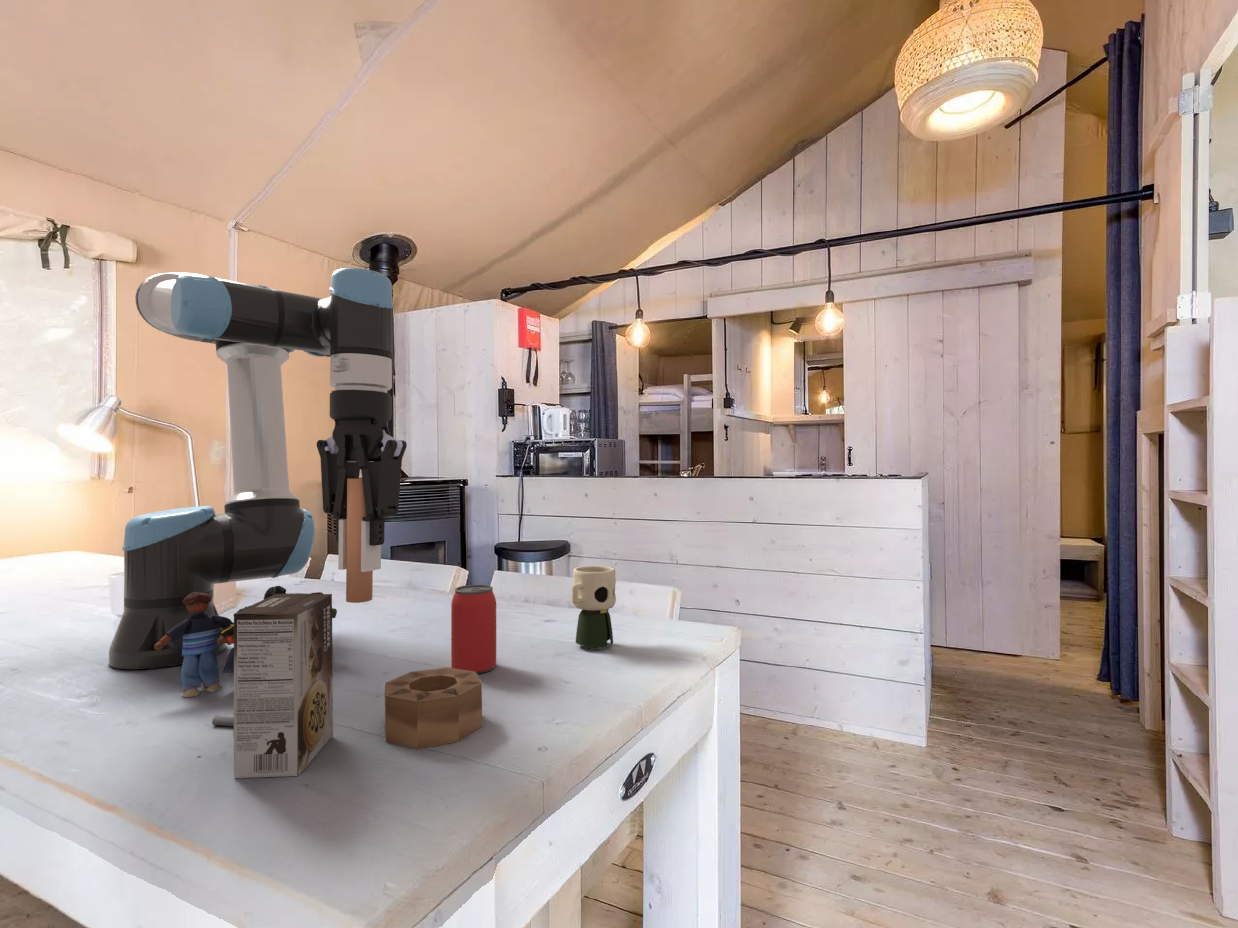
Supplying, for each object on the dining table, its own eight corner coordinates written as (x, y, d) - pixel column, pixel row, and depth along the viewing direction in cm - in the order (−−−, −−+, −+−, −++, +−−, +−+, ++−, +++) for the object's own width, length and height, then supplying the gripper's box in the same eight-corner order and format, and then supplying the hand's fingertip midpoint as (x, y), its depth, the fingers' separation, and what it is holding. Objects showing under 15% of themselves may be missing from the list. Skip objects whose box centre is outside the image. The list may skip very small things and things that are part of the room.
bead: (364, 736, 68) (364, 691, 69) (427, 703, 78) (427, 664, 78) (440, 753, 65) (440, 705, 65) (496, 716, 74) (496, 674, 74)
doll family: (195, 711, 76) (195, 603, 76) (147, 701, 79) (147, 598, 79) (341, 657, 98) (341, 573, 98) (298, 651, 101) (298, 569, 101)
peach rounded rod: (340, 601, 80) (341, 478, 80) (359, 596, 83) (360, 478, 83) (359, 603, 79) (360, 479, 79) (377, 598, 82) (378, 478, 82)
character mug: (590, 658, 97) (590, 575, 97) (556, 650, 101) (556, 571, 101) (630, 642, 105) (630, 566, 105) (598, 635, 110) (598, 562, 110)
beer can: (485, 677, 88) (485, 593, 88) (442, 674, 89) (443, 591, 89) (503, 662, 94) (503, 584, 95) (463, 660, 96) (463, 583, 96)
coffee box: (274, 738, 68) (275, 592, 68) (334, 736, 69) (335, 591, 69) (229, 780, 59) (230, 612, 59) (299, 777, 60) (299, 610, 60)
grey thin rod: (211, 726, 71) (212, 717, 71) (218, 722, 72) (218, 714, 72) (295, 731, 70) (295, 722, 70) (301, 727, 71) (301, 718, 71)
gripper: (291, 389, 81) (290, 568, 81) (388, 385, 74) (386, 579, 75) (338, 395, 87) (336, 560, 88) (430, 391, 81) (428, 569, 81)
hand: (359, 568), depth 81 cm, fingers closed on peach rounded rod, 3 cm apart
